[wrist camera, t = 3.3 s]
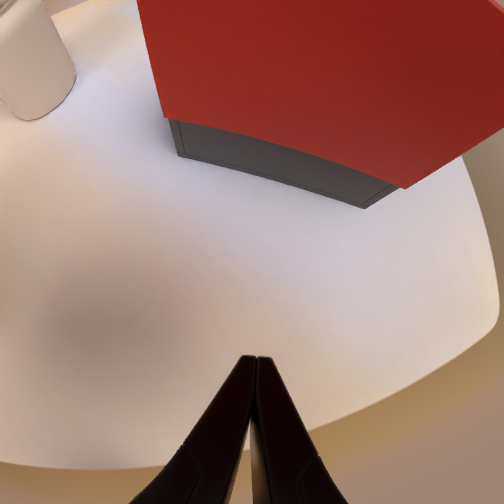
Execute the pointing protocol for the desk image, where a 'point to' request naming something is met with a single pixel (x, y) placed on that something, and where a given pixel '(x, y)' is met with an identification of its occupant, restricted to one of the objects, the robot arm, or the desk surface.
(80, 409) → the desk surface
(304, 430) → the robot arm
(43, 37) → the pill bottle
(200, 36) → the lid
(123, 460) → the desk surface
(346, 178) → the box
